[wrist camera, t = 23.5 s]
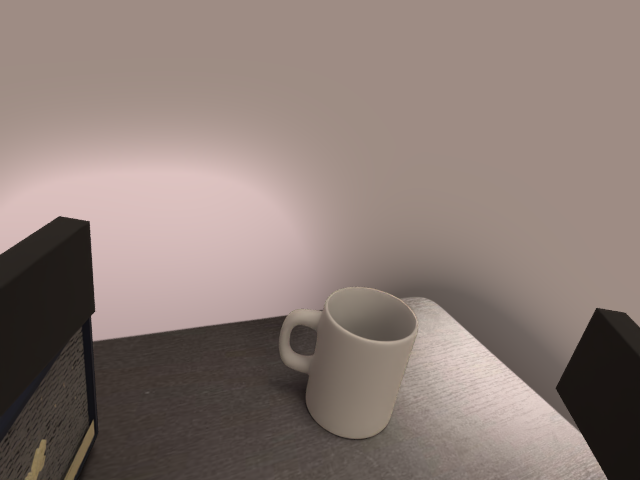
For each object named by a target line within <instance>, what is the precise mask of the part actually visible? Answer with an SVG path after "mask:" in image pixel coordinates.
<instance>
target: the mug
mask: <svg viewBox="0 0 640 480" xmlns="http://www.w3.org/2000/svg"><path fill="white" fill-rule="evenodd" d="M297 325H304V326H307V327H310V328H312V329H314V330H315V331H317V342H316V347H315V352H314V355H312V356H304V355H300V354H297V353H295V352H294V351H293V350H292V349H291V346H290V333H291V331H292V329H293V328H294V327H295V326H297ZM417 332H418V320H417V317H416V315H415V313H414V312H413V311H412V309H411V308H410V307H409V306H408V305H407V304H405V303H404V302H403V301H401V300H400V299H398V298H396V297H395V296H393V295H390V294H388V293H386V292H383V291H380V290H376V289H372V288H365V287H349V288H343V289H340V290H337V291H335V292H334V293H332V294H331V295H330V296H329V297H328V298H327V300H326V302H325V305H324V308H323V311H316V310H309V309H297V310H294V311H292V312H291V313H290V314H289V315H288V316H287V317H286V319H285V321H284V323H283V325H282V328H281V332H280V336H279V352H280V357H281V359H282V361H283V363H284V364H285V365H286V366H288V367H289V368H291V369H293V370H296V371H299V372H302V373H305V374H308V375H309V380H308V384H307V389H306V404H307V408H308V410H309V412H310V414H311V416H312V417H313V418H314V420H315V421H316V422H317V423H318V424H319V425H320V426H321V427H323V428H324V429H326V430H327V431H329V432H331V433H333V434H335V435H338V436H340V437H344V438H350V439H363V438H368V437H371V436H374V435H376V434H378V433H380V432H381V431H382V430H383V429H384V428H385V427H386V426H387V424H388V422H389V421H390V418H391V415H392V412H393V409H394V405H395V402H396V398H397V395H398V392H399V389H400V385H401V382H402V379H403V376H404V373H405V370H406V367H407V364H408V361H409V357H410V354H411V351H412V348H413V345H414V342H415V339H416V336H417Z"/></svg>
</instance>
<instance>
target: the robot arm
mask: <svg viewBox="0 0 640 480" xmlns="http://www.w3.org/2000/svg"><path fill="white" fill-rule="evenodd" d="M94 312H95V302H94V285H93V269H92V253H91V237H90V222H89V221H84V220H78V219H73V218H67V217H61V216H59V217H57V218H56V219H54V220H53V221H51V222H50V223H48V224H47V225H45V226H44V227H42V228H41V229H39V230H38V231H36V232H34V233H33V234H31V235H30V236H28V237H27V238H25V239H24V240H22V241H21V242H19V243H18V244H16V245H15V246H13V247H11V248H10V249H8V250H7V251H5V252H4V253H2V254H1V255H0V417H1V416H2V415H3V414H4V413H5V412H6V411H7V409H8V408H9V407H10V406H11V405H12V404H13V403H14V402H15V401H16V399H17V398H18V397H19V396H20V395H21V394H22V393H23V392H24V390H25V389H26V388H27V387H28V386H29V385H30V384H31V383H32V381H33V380H34V379H35V378H36V377H37V376H38V375H39V374H40V372H41V371H42V370H43V369H44V368H45V367H46V366H47V365H48V364H49V362H50V361H51V360H52V359H53V358H54V357H55V356H56V355H57V353H58V352H59V351H60V350H61V349H62V348H63V347H64V346H65V344H66V343H67V342H68V341H69V340H70V339H71V338H72V337H73V336H74V334H75V333H76V332H77V331H78V330H79V329H80V328H81V327H82V325H83V324H84V323H85V322H86V321H87V320H88V319H89V318H90V316H91V315H92V314H93V313H94ZM556 389H557V392H558V393H559V395H560V397H561V398H562V400H563V402H564V404H565V405H566V407H567V409H568V411H569V412H570V414H571V416H572V418H573V419H574V421H575V423H576V424H577V426H578V428H579V430H580V432H581V433H582V435H583V437H584V439H585V440H586V442H587V444H588V446H589V447H590V449H591V451H592V453H593V454H594V456H595V458H596V460H597V461H598V463H599V465H600V466H601V468H602V470H603V472H604V473H605V475H606V477H607V479H608V480H640V327H639V326H638V325H637V324H636V323H635V322H634V321H633V320H632V319H631V318H630V317H629V316H628V315H627V314H626V313H623V312H618V311H612V310H605V309H600V308H596V310H595V312H594V314H593V316H592V318H591V320H590V322H589V324H588V326H587V328H586V330H585V332H584V333H583V335H582V338H581V340H580V341H579V343H578V345H577V347H576V349H575V351H574V353H573V355H572V357H571V359H570V361H569V363H568V365H567V367H566V369H565V371H564V373H563V375H562V377H561V379H560V381H559V383H558V385H557V387H556Z"/></svg>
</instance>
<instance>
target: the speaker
mask: <svg viewBox="0 0 640 480" xmlns="http://www.w3.org/2000/svg"><path fill="white" fill-rule="evenodd" d="M97 435H98V418H97V403H96V387H95V372H94V356H93V340H92V325H91V316H90V318H89V319H88V320H87V321H86V322H85V323H84V324H83V325H82V327H81V328H80V329H79V330H78V331H77V332H76V333H75V334H74V336H73V337H72V338H71V339H70V340H69V341H68V342H67V343H66V344H65V346H64V347H63V348H62V349H61V350H60V351H59V352H58V353H57V355H56V356H55V357H54V358H53V359H52V360H51V361H50V362H49V364H48V365H47V366H46V367H45V368H44V369H43V370H42V371H41V372H40V374H39V375H38V376H37V377H36V378H35V379H34V380H33V381H32V383H31V384H30V385H29V386H28V387H27V388H26V389H25V390H24V392H23V393H22V394H21V395H20V396H19V397H18V398H17V399H16V401H15V402H14V403H13V404H12V405H11V406H10V407H9V408H8V409H7V411H6V412H5V413H4V414H3V415H2V416H1V417H0V480H77V479H78V477H79V475H80V473H81V470H82V468H83V466H84V464H85V462H86V459H87V457H88V455H89V453H90V451H91V448H92V446H93V444H94V442H95V440H96V437H97Z"/></svg>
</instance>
